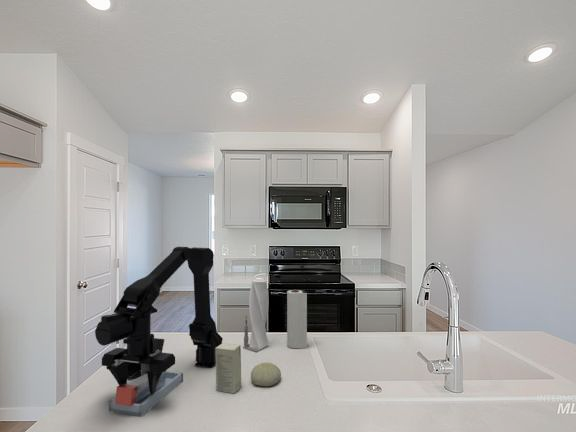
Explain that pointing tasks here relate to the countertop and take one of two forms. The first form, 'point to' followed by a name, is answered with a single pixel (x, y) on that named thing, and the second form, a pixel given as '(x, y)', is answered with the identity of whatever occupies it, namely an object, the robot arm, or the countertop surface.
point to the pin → (136, 390)
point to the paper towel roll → (296, 319)
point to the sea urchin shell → (265, 374)
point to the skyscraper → (257, 315)
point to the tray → (149, 397)
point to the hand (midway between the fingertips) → (138, 392)
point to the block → (140, 366)
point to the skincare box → (228, 367)
